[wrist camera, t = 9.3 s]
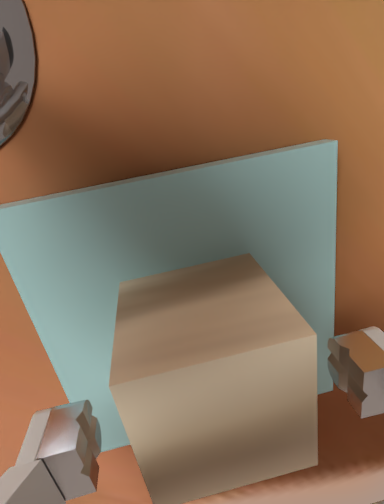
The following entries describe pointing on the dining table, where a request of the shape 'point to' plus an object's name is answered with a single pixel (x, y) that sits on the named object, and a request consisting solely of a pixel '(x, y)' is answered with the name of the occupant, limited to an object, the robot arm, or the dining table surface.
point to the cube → (213, 379)
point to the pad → (170, 252)
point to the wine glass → (15, 66)
